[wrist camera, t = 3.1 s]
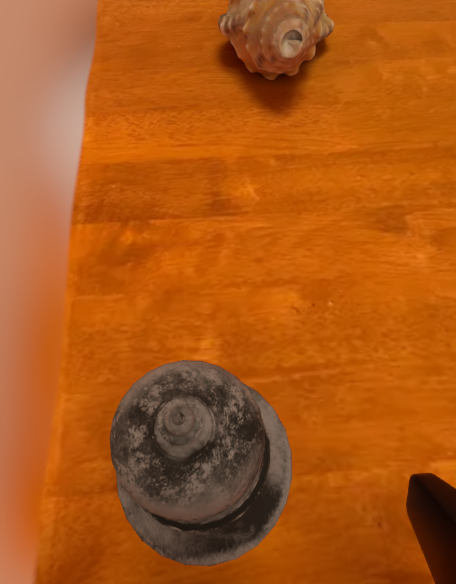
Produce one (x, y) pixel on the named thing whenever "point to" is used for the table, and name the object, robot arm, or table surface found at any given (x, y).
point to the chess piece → (199, 463)
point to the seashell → (275, 33)
